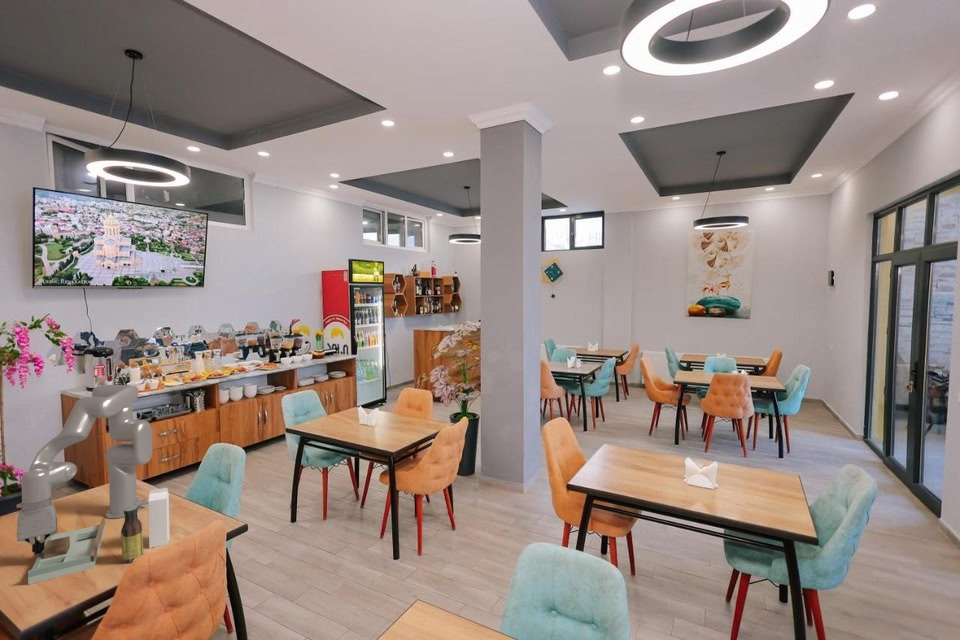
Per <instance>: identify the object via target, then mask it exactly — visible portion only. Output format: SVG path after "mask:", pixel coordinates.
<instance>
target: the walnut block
mask: <svg viewBox="0 0 960 640" xmlns="http://www.w3.org/2000/svg"><path fill="white" fill-rule="evenodd" d="M69 547H70V536H68V537H63V538H59V539H54V540H50V541H48V542H47V544H46V545H45V547H44V559H47V558H51V557H56V556H60V555H64V554H67V552H68V550H69Z"/></svg>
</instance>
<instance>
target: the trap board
mask: <svg viewBox="0 0 960 640" xmlns="http://www.w3.org/2000/svg"><path fill="white" fill-rule="evenodd" d="M105 531H106V517H103V518H101V520H100V523H99V524H98V525H93V526H87V527H84V528H80V529H74V530H70V531H64V532H59V533H56V534H54V535H51V536H49V537H48V538H47V539H46V541H44V543H45V545H46V544H47V542H48V541H50V540H54V539H59V538H63V537H68V536H70V547H69V550H68V552H67V554H64V555H60V556H56V557H51V558H47V559H44V550H42V552H41V554H38V556H37V558H36V560H35V562H34V564H33V566H32V568H31V569H29V570H28V571H27V581H28V586H29V585H32V584H38V583H40V582H45V581H47V580H48V581H49V580H51V579H52V580H53V579H56V578H61V577H64V576H68V575H72V574H75V573H76V574H77V573H80V572H83V571H88V570H91V569H95V568H96V565H97V564H96V563H97V559H98V557H99V553H100V549H101V546H102V542H103V539H104V536H105V533H106V532H105Z"/></svg>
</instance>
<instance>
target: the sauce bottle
mask: <svg viewBox="0 0 960 640" xmlns="http://www.w3.org/2000/svg"><path fill="white" fill-rule="evenodd" d="M137 511H138V507H137V506H130V507H127V508H125V509H124V514H125V517H124V522H123V525H122V527H121V531H120V538H121V541H120V542H121V556H122V558H121V559H122V561H123V563H125V564H128V563H129V564H130V563H133V562H132V561H133V560H134V559H135V558H137V557H139V556H141V555H143V556H144V535H143V524H142V521H141V520H140V519H139V518H138V517H139V516H138V512H139V511H138V512H137Z"/></svg>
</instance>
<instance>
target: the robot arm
mask: <svg viewBox="0 0 960 640" xmlns="http://www.w3.org/2000/svg"><path fill="white" fill-rule="evenodd" d="M91 395H92V396H85V397H82V398H79V399H77V401H76V402H75V403H74V405H73V407H72V409H71V411H70V414H69V415H68V417H67V420H66V422H64V425H63V426H62V430H61V431H60V432H59V434H57V435H56V436H54V437H53V438H52V439H51V440H49V441H48V442H47V443H46V444H45V445H43V446H42V447H41V448H40V450H39V451H37V453H36V454H35V456H34V459H33V460H32V463H31V464H30V467H29V469H28V471H26V472H24V473H23V474H22V475H21V481H20V482H21V502H20V503H17V504H16V509H20V510H19V511H18V517H17V523H16V542H27V543H29V544H30V545H31V550H32V553H33V554H34V556H37V555H39V554H41V552H42V550H44V547H45V542H46V541H45V540H47V538H48V537H49V536H51V535H55V534H58V532H59V529H58V515H57V510H56V507H55V504H54V502H52V486H55V485H58V484H60V485H61V484H63V483H66V482H68V481H70V480H71V479H73V478H74V477H75V475H76V474H77V473H78V467H77V465H76V464H75V463H74V462H69V461H54V459H55V458H56V457H57V456H58V454H59V453H60V452H61V451H63V450H64V449H66V448H68V447H70V446H72V445H75V444H77V443H80V442H82V441H84V440H86V439H87V438H88V437H89V435H90V433H91V430H92V429H93V427H94V424H95V422H96V419H97V418H100V419H102V418H103V419H106V418H108V433H109V439H110V440H111V441H114V442H117V443H115V444H112V445H111V446H110V447H108V449H107V450H106V452H105V461H106V465H107V470H108V482H109V484H108V485H109V509H108V510H107V511H106V512H105V518H108V519H120V518H125V514H124V509H125V508H127V507H130V506H137V507H138V511H137V513H138V512H139V511H140V510H141V508H142V506H144V505H148V500H149V499H146V498H144V499H139V497H137V471H136V470H137V469H136V468H135V466H143V465H145V464H147V463H149V462H150V460H151V458H152V457H153V450H154V449H153V444H154V443H153V428H152V425H151V423H150V422H149V421H147V420H146V419H145V420H144V419H134V413H133V407H132V405H133V404H134V403H135V402H136V401H137V399H138V398H139V390H138V388H137V387H136V386H134V385H130V384H101V385H97V386H95V387H94V388H93V389H92V392H91ZM118 442H119V443H118ZM38 537H39V540H38V539H37V538H38Z"/></svg>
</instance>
